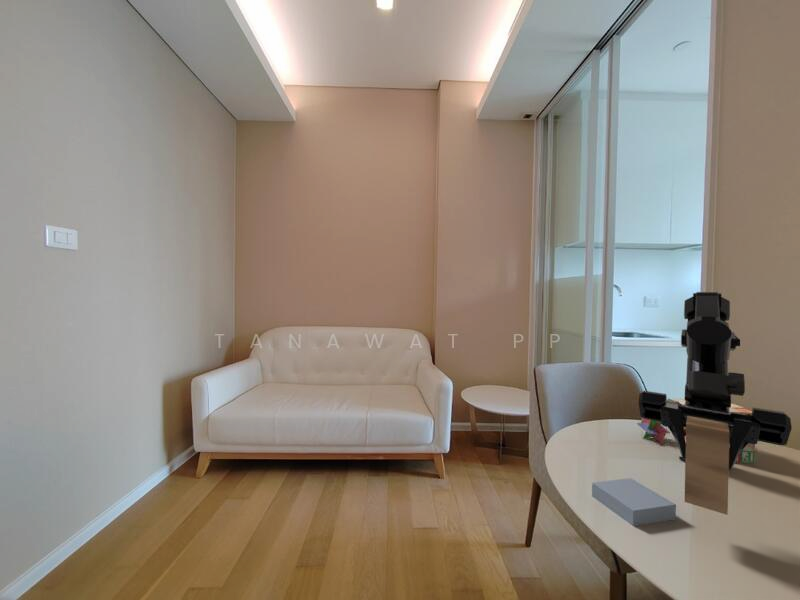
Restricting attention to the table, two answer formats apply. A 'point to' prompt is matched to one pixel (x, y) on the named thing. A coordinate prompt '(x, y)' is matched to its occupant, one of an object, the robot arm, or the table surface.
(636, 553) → the table surface
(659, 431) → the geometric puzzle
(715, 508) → the walnut block
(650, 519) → the slate base block
